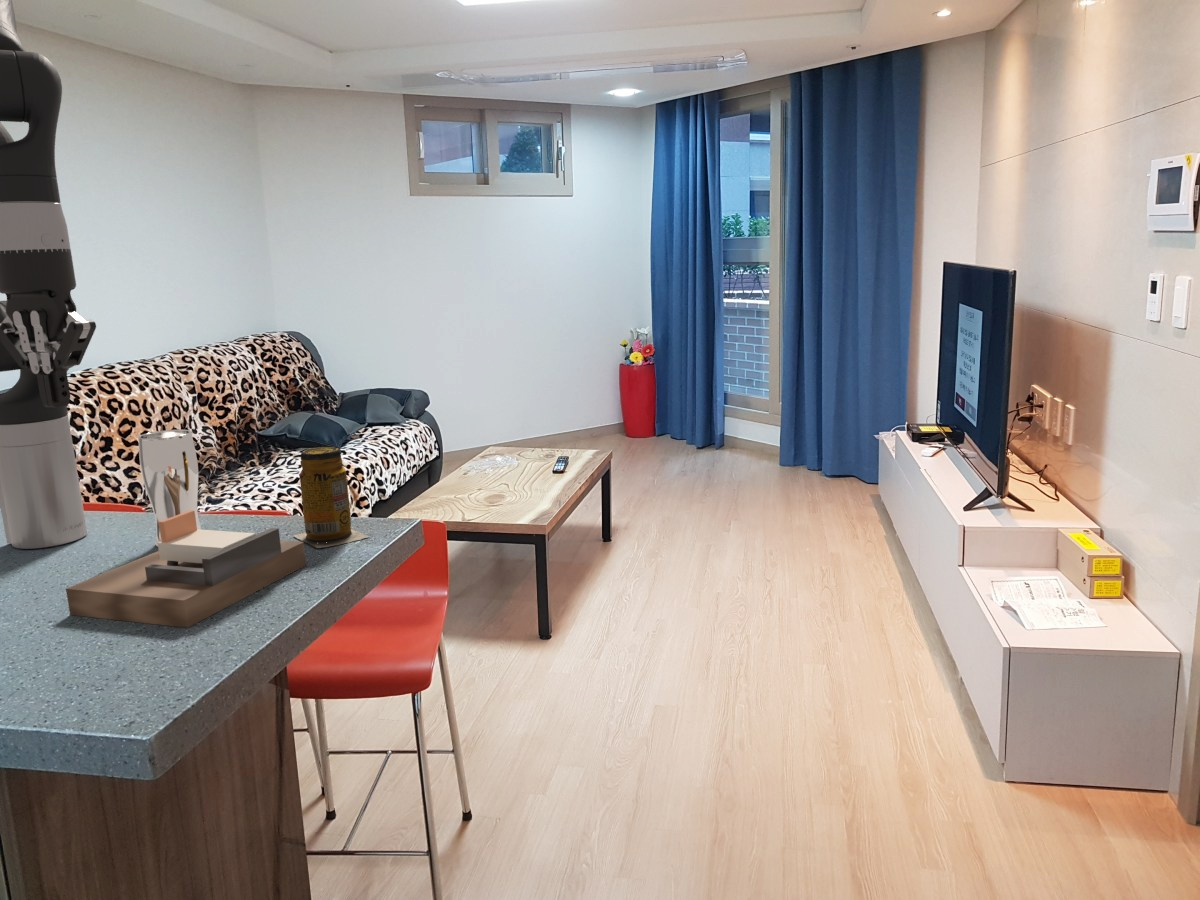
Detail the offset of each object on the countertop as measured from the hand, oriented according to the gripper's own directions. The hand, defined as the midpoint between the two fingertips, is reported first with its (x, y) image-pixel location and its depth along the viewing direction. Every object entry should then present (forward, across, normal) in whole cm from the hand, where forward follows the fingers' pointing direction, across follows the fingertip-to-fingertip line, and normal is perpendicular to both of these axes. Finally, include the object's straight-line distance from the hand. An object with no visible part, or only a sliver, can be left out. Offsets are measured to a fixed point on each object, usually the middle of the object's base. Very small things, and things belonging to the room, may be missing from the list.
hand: (56, 406), depth 105 cm
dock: (+22, -12, -4) cm, 25 cm away
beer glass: (+22, +4, -19) cm, 29 cm away
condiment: (+22, -16, -25) cm, 37 cm away
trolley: (+19, -14, -4) cm, 24 cm away
